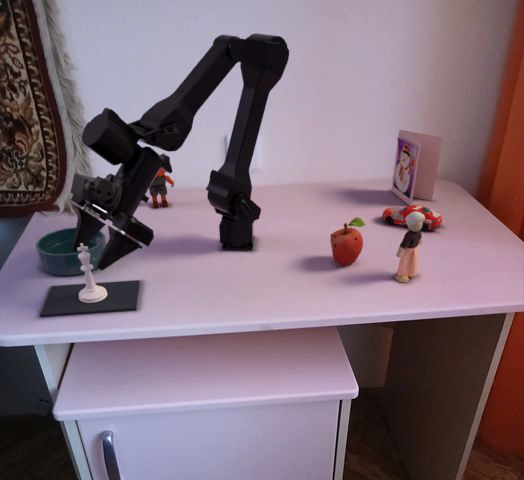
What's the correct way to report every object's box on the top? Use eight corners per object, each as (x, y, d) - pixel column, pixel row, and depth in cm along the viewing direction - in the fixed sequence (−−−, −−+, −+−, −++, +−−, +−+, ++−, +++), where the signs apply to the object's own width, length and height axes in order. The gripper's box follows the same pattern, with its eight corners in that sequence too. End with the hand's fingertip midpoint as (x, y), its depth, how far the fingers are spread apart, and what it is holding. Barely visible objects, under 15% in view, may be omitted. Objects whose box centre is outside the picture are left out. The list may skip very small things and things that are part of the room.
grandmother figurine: (409, 287, 98) (420, 221, 91) (389, 281, 100) (398, 216, 92) (423, 270, 103) (434, 206, 96) (403, 265, 105) (413, 202, 98)
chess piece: (108, 300, 94) (97, 247, 88) (79, 305, 93) (66, 252, 87) (106, 287, 98) (95, 236, 92) (78, 291, 97) (66, 240, 91)
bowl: (116, 247, 113) (112, 227, 110) (97, 277, 102) (93, 255, 100) (55, 246, 113) (50, 226, 111) (31, 276, 103) (24, 254, 100)
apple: (320, 264, 106) (323, 216, 100) (336, 252, 110) (340, 204, 104) (355, 275, 102) (361, 225, 96) (371, 261, 107) (377, 213, 101)
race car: (378, 223, 122) (380, 206, 120) (386, 215, 126) (388, 198, 124) (436, 234, 117) (439, 216, 114) (442, 225, 120) (446, 208, 118)
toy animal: (145, 212, 129) (138, 161, 122) (143, 204, 133) (135, 154, 126) (178, 208, 130) (173, 158, 123) (175, 200, 135) (169, 151, 128)
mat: (139, 282, 101) (139, 280, 100) (136, 310, 92) (135, 307, 92) (51, 288, 99) (51, 285, 99) (40, 317, 91) (39, 314, 91)
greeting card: (388, 190, 139) (395, 129, 130) (414, 188, 140) (423, 127, 131) (407, 206, 130) (417, 142, 121) (435, 203, 131) (447, 140, 122)
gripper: (69, 141, 90) (22, 221, 91) (125, 166, 79) (71, 258, 80) (119, 177, 99) (76, 250, 100) (176, 204, 88) (127, 286, 88)
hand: (86, 259), depth 92 cm, fingers open, 9 cm apart
